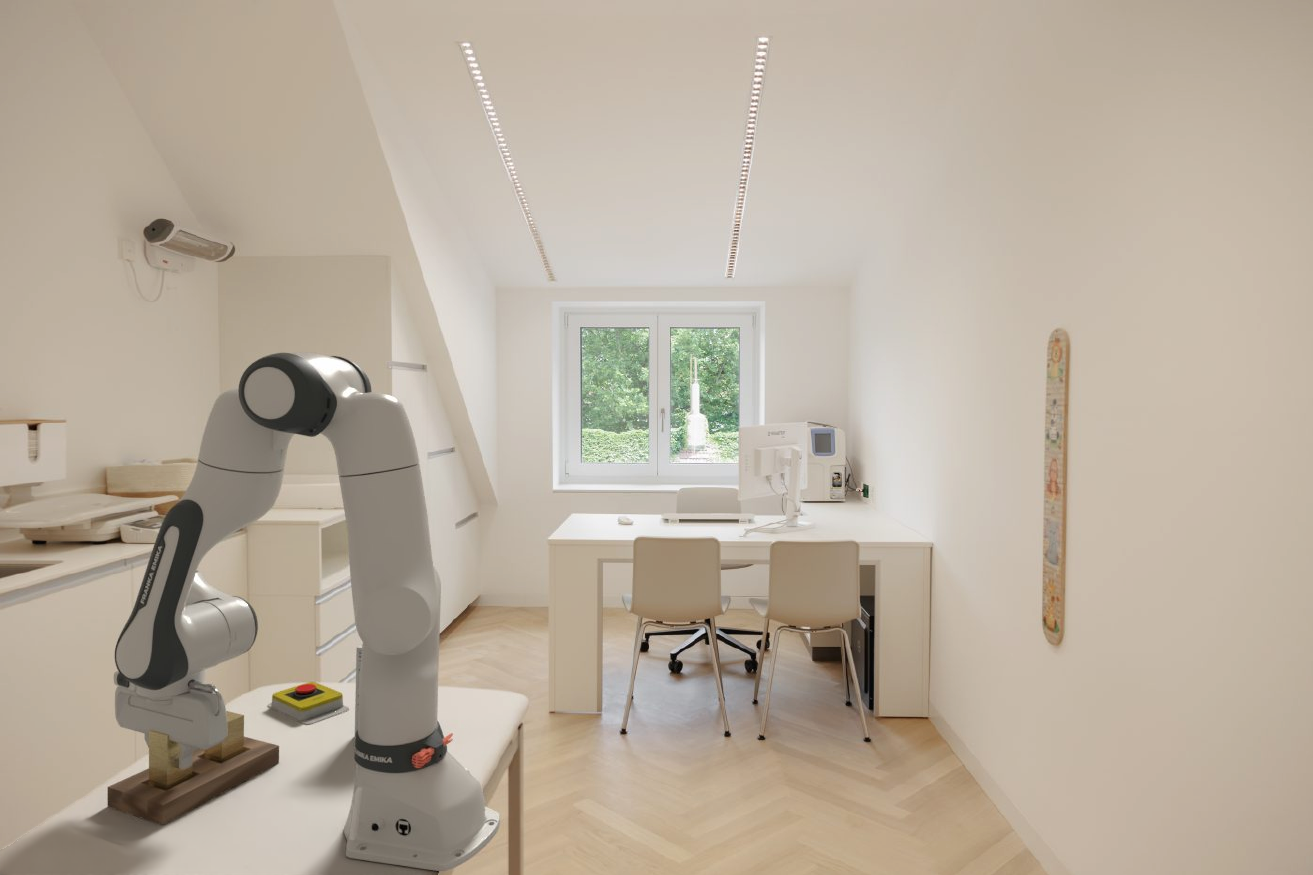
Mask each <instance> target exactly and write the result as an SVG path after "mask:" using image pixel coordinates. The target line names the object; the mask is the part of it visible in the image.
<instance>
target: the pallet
mask: <svg viewBox="0 0 1313 875" xmlns="http://www.w3.org/2000/svg"><path fill="white" fill-rule="evenodd" d="M279 763H280V745H278V744H274V743H270V742H267V741H263V740H258V739H255V738H250V737H246V736H244V753H242V754H240V755H238V756H236V757H233V758H231V759H229V760H227V761H225V762H223V763H217V762H214V761H210V760H206V759H204V750H203V749H200V748H196V750H195V752H194V753H193V755H192V778H191V779H189V780H187V781H185V782H183V783H181V784H179V785H177V786H175V787H173V788H171V789H169V790H167V791H165V790H162V789H159V788H156V787H152V786H149V767H148V768H146V769H144V770H141V771H140V772H137V773H136V774H133V775H131V776H129V777H126V778H124V779H122V780H120V781H118V782H116V783H113V784H112V785H110V786H107V807H108V808H111V809H113V810H117V811H120V812H123V813H126V814H129V815H131V816H135V817H138V818H141V819H143V820H145V821H150V822H152V823H155V824H158V825H161V826H164V825H166V824H168V823H170V822H171V821H173V820H175V819H177V818H179V817H181V816H182V815H184V814H186V813H188V812H190V811H192V810H193V809H196V808H198V807H199V806H201V805H202V804H205V803H207V802H209V801H210V800H212V799H214V798H216V797H217V796H220V795H222V794H224V793H225V792H227V791H229V790H231V789H233V788H235V787H236V786H238V785H240V784H242V783H243V782H246V781H247V780H249V779H252V778H254V777H255V776H257V775H259V774H261V773H262V772H264V771H266V770H268V769H270V768H271V767H274V766H276V765H277V764H279Z"/></svg>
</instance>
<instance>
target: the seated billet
mask: <svg viewBox="0 0 1313 875" xmlns="http://www.w3.org/2000/svg"><path fill="white" fill-rule="evenodd" d="M226 715H227V726H228V735H227V737H226V738H225V740H224V741H223V742H222V743H220V744H218V745H216V746H213V747H211V748H209V749H206V750H204V759H206V760H210V761H214V762H217V763H223V762H225V761H227V760H229V759H231V758H233V757H236V756H238V755H240V754H242V753H244V737H245V735H244V734H245V714H241V713H237V712H233V711H230V710H229V711H228V710H226Z"/></svg>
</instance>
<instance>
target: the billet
mask: <svg viewBox="0 0 1313 875" xmlns="http://www.w3.org/2000/svg"><path fill="white" fill-rule="evenodd" d="M181 750H182V749H180V748H179V743H178V742H174V741H170V740H169V735H167V734H163V733H160V732H156V731H152V730H149V748H148V768H149V786H152V787H156V788H159V789H162V790H165V791H167V790H169V789H171V788H173V787H175V786H177V785H179V784H181V783H183V782H185V781H187V780H189V779H191V778H192V765H191V766H190V767H188V768H186V769H184V770H182V769H179V768H176V767H175V757H177V756H179V755H180V753H181Z"/></svg>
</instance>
